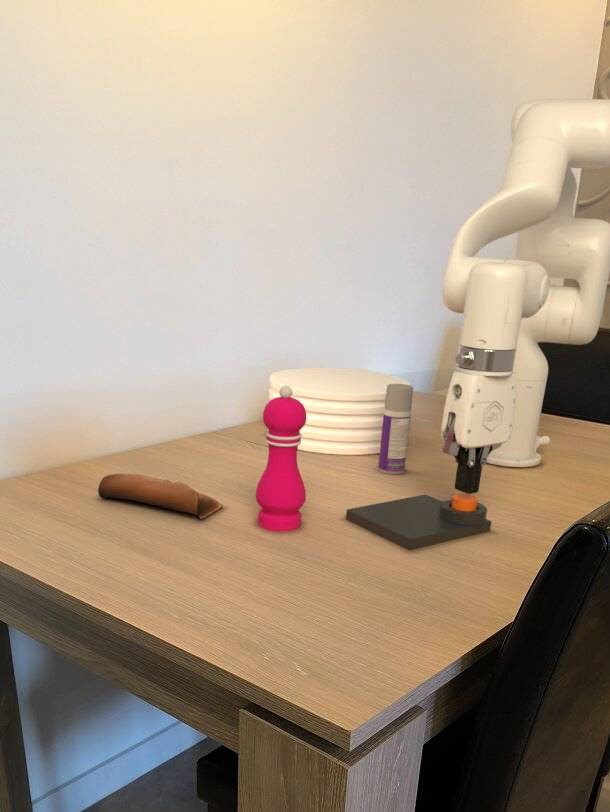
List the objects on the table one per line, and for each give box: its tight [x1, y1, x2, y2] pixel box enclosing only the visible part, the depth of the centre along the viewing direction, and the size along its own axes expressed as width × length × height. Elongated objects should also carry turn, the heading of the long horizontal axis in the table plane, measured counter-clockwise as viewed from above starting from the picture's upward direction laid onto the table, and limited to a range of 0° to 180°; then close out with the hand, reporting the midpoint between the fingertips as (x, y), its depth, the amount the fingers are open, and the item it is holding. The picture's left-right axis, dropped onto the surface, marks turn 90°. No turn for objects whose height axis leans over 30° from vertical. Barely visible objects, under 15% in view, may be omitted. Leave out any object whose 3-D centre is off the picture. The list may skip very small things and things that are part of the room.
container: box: [377, 384, 414, 475], centre depth 145 cm, size 5×5×15 cm
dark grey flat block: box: [345, 494, 492, 551], centre depth 122 cm, size 16×14×4 cm
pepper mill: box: [255, 386, 307, 532], centre depth 116 cm, size 7×7×20 cm
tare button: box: [451, 493, 479, 511], centre depth 121 cm, size 4×4×2 cm
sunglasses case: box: [97, 473, 223, 520], centre depth 126 cm, size 18×7×7 cm
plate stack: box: [267, 367, 411, 456], centre depth 167 cm, size 28×28×12 cm
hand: (466, 490), depth 120 cm, fingers closed
